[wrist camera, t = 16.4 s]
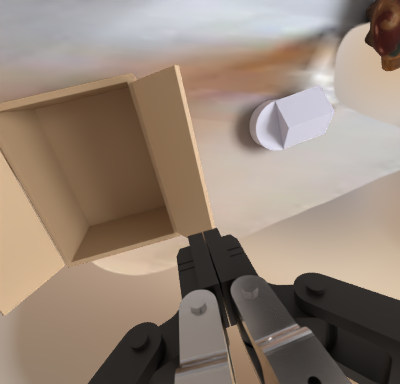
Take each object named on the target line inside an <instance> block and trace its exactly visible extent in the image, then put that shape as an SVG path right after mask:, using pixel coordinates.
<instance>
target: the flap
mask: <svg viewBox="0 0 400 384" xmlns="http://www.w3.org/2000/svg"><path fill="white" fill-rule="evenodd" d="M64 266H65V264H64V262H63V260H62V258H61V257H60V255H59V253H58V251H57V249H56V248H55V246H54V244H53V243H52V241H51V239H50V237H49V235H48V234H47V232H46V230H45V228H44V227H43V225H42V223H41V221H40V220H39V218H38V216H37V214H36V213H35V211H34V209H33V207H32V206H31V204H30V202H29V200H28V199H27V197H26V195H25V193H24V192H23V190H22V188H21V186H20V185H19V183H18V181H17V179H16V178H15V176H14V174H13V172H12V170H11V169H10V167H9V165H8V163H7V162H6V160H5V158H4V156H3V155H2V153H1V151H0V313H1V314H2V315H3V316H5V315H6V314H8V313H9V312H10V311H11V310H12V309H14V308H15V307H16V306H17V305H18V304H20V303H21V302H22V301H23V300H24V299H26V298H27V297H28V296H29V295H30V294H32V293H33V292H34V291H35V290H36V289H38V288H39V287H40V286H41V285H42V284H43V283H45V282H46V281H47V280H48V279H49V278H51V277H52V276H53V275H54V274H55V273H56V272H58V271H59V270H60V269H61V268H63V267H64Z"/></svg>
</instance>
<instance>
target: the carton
mask: <svg viewBox="0 0 400 384" xmlns="http://www.w3.org/2000/svg"><path fill="white" fill-rule="evenodd" d="M136 80H138V79H137V78H136V77H135V76H134V75H133V74H132V73H129V74H125V75H120V76H116V77H112V78H107V79H103V80H99V81H94V82H90V83H86V84H81V85H77V86H72V87H68V88H64V89H59V90H55V91H51V92H46V93H42V94H38V95H33V96H29V97H24V98H20V99H16V100H11V101H7V102H3V103H0V148H1V150H2V152H3V153H4V155H5V157H6V159H7V161H8V162H9V164H10V166H11V168H12V169H13V171H14V173H15V175H16V176H17V178H18V180H19V182H20V183H21V185H22V187H23V189H24V191H25V192H26V194H27V196H28V198H29V199H30V201H31V203H32V205H33V206H34V208H35V210H36V212H37V213H38V215H39V217H40V219H41V221H42V222H43V224H44V225H45V228H46V229H47V231H48V233H49V235H50V236H51V238H52V240H53V242H54V243H55V245H56V247H57V249H58V251H59V252H60V254H61V256H62V257H63V259H64V261H65V263H66V265H67V266H68V268H69V267H73V266H76V265H79V264H83V263H87V262H90V261H94V260H97V259H101V258H104V257H108V256H111V255H115V254H118V253H122V252H125V251H129V250H132V249H136V248H139V247H143V246H146V245H150V244H153V243H157V242H160V241H164V240H167V239H171V238H174V237H178V236H180V234H179V233H178V232H177V229H176V225H175V222H174V219H173V215H172V212H171V209H170V205H169V202H168V199H167V196H166V192H165V189H164V186H163V182H162V179H161V176H160V173H159V169H158V166H157V163H156V159H155V156H154V153H153V150H152V146H151V143H150V140H149V136H148V133H147V130H146V127H145V123H144V120H143V117H142V113H141V110H140V107H139V103H138V100H137V97H136V94H135V90H134V87H133V84H132V82H133V81H136Z"/></svg>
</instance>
